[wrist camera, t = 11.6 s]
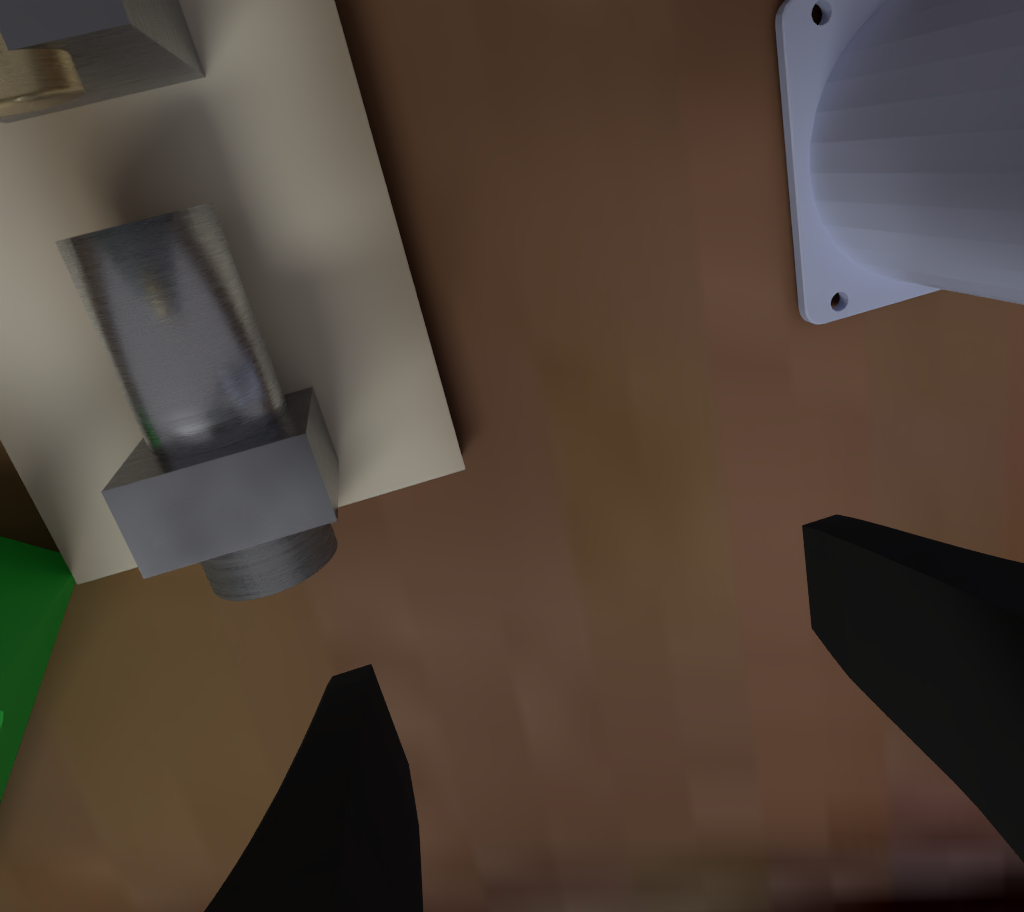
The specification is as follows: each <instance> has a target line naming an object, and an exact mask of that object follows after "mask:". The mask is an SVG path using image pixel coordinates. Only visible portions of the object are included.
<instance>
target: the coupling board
mask: <svg viewBox="0 0 1024 912" xmlns="http://www.w3.org/2000/svg"><path fill="white" fill-rule="evenodd" d="M179 2H180V5H181V8H182V10H183V13H184V16H185V19H186V22H187V25H188V28H189V31H190V33H191V36H192V39H193V42H194V45H195V48H196V51H197V53H198V56H199V59H200V62H201V65H202V68H203V71H204V73H205V76H206V77H204V78H200V79H195V80H191V81H187V82H183V83H178V84H174V85H170V86H166V87H161V88H157V89H153V90H148V91H144V92H140V93H136V94H131V95H127V96H123V97H118V98H114V99H110V100H106V101H101V102H97V103H93V104H89V105H84V106H80V107H76V108H71V109H67V110H63V111H59V112H54V113H50V114H46V115H42V116H37V117H33V118H29V119H24V120H20V121H16V122H12V123H2V122H0V440H1V442H2V444H3V446H4V448H5V450H6V451H7V453H8V455H9V457H10V459H11V461H12V463H13V465H14V466H15V468H16V470H17V472H18V474H19V476H20V478H21V480H22V481H23V483H24V485H25V487H26V489H27V491H28V493H29V495H30V496H31V498H32V500H33V502H34V504H35V506H36V508H37V510H38V511H39V513H40V515H41V517H42V519H43V521H44V523H45V525H46V526H47V528H48V530H49V532H50V534H51V536H52V538H53V540H54V541H55V543H56V545H57V547H58V549H59V551H60V553H61V555H62V556H63V558H64V560H65V562H66V564H67V566H68V568H69V570H70V571H71V573H72V575H73V577H74V579H75V581H76V583H77V585H78V584H82V583H85V582H89V581H92V580H95V579H99V578H102V577H105V576H109V575H112V574H115V573H119V572H122V571H126V570H129V569H132V568H136V567H138V566H137V564H136V562H135V560H134V558H133V556H132V554H131V552H130V550H129V548H128V545H127V543H126V541H125V539H124V537H123V535H122V533H121V531H120V529H119V527H118V525H117V523H116V521H115V519H114V517H113V515H112V513H111V511H110V509H109V507H108V505H107V503H106V501H105V499H104V497H103V495H102V493H101V491H102V490H103V489H104V488H105V486H106V485H107V484H108V482H109V481H110V480H111V478H112V477H113V476H114V475H115V473H116V472H117V471H118V469H119V468H120V467H121V466H122V464H123V463H124V462H125V460H126V459H127V458H128V456H129V455H130V454H131V453H132V451H133V450H134V449H135V447H136V446H137V445H138V444H139V442H140V441H141V440H142V438H143V435H142V433H141V431H140V428H139V426H138V424H137V422H136V420H135V417H134V415H133V413H132V411H131V409H130V406H129V404H128V402H127V400H126V398H125V395H124V393H123V391H122V389H121V386H120V384H119V382H118V380H117V378H116V375H115V373H114V371H113V369H112V367H111V364H110V362H109V360H108V358H107V356H106V353H105V351H104V349H103V347H102V345H101V342H100V340H99V338H98V336H97V334H96V331H95V329H94V327H93V325H92V322H91V320H90V318H89V316H88V314H87V311H86V309H85V307H84V305H83V303H82V300H81V298H80V296H79V294H78V292H77V289H76V287H75V285H74V283H73V281H72V278H71V276H70V274H69V272H68V269H67V267H66V265H65V263H64V261H63V258H62V256H61V254H60V252H59V250H58V247H57V245H56V243H55V242H56V241H60V240H63V239H67V238H71V237H75V236H79V235H83V234H87V233H91V232H95V231H99V230H103V229H107V228H111V227H115V226H119V225H123V224H127V223H131V222H135V221H139V220H143V219H147V218H151V217H155V216H159V215H163V214H167V213H171V212H175V211H179V210H183V209H187V208H192V207H196V206H200V205H204V204H209V203H213V204H214V207H215V209H216V212H217V215H218V218H219V220H220V223H221V226H222V228H223V231H224V234H225V237H226V239H227V242H228V245H229V248H230V250H231V253H232V256H233V258H234V261H235V264H236V267H237V269H238V272H239V275H240V278H241V280H242V283H243V286H244V288H245V291H246V294H247V297H248V299H249V302H250V305H251V308H252V310H253V313H254V316H255V318H256V321H257V324H258V327H259V329H260V332H261V335H262V338H263V340H264V343H265V346H266V348H267V351H268V354H269V357H270V359H271V362H272V365H273V368H274V370H275V373H276V376H277V378H278V381H279V384H280V387H281V389H282V392H283V395H285V394H289V393H292V392H296V391H299V390H303V389H307V388H310V387H313V388H314V391H315V394H316V397H317V400H318V403H319V405H320V408H321V411H322V414H323V417H324V420H325V423H326V426H327V428H328V431H329V434H330V437H331V440H332V443H333V446H334V448H335V451H336V454H337V457H338V460H339V477H338V507H340V506H344V505H347V504H351V503H354V502H357V501H361V500H364V499H367V498H371V497H374V496H377V495H381V494H384V493H388V492H391V491H394V490H398V489H401V488H404V487H408V486H411V485H414V484H418V483H421V482H424V481H428V480H431V479H435V478H438V477H441V476H445V475H448V474H451V473H455V472H458V471H461V470H465V466H464V463H463V459H462V455H461V452H460V448H459V445H458V441H457V437H456V434H455V430H454V427H453V423H452V420H451V416H450V412H449V409H448V405H447V402H446V398H445V395H444V391H443V387H442V384H441V380H440V377H439V373H438V369H437V366H436V362H435V359H434V355H433V352H432V348H431V344H430V341H429V337H428V334H427V330H426V327H425V323H424V319H423V316H422V312H421V309H420V305H419V301H418V298H417V294H416V291H415V287H414V284H413V280H412V276H411V273H410V269H409V266H408V262H407V259H406V255H405V251H404V248H403V244H402V241H401V237H400V233H399V230H398V226H397V223H396V219H395V216H394V212H393V208H392V205H391V201H390V198H389V194H388V190H387V187H386V183H385V180H384V176H383V173H382V169H381V165H380V162H379V158H378V155H377V151H376V148H375V144H374V140H373V137H372V133H371V130H370V126H369V122H368V119H367V115H366V112H365V108H364V105H363V101H362V97H361V94H360V90H359V87H358V83H357V80H356V76H355V72H354V69H353V65H352V62H351V58H350V54H349V51H348V47H347V44H346V40H345V37H344V33H343V29H342V26H341V22H340V19H339V15H338V12H337V8H336V4H335V1H334V0H179Z"/></svg>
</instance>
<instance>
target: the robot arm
mask: <svg viewBox="0 0 1024 912" xmlns="http://www.w3.org/2000/svg"><path fill="white" fill-rule="evenodd" d="M815 4H817V5H818V6H819V7H820V8H821V11H822V19H821V22H820V23H819V25H817V24H815V23H814V22H813V19H812V16H811V14H812V8H813V7H814V5H815ZM775 29H776V41H777V53H778V65H779V77H780V89H781V101H782V113H783V125H784V137H785V149H786V161H787V173H788V185H789V197H790V209H791V221H792V233H793V245H794V257H795V269H796V281H797V293H798V305H799V311H800V315H801V317H802V318H803V319H804V320H805V321H808V322H810V323H813V324H825V323H828V322H831V321H835V320H838V319H842V318H845V317H849V316H852V315H855V314H859V313H862V312H866V311H869V310H873V309H876V308H879V307H883V306H886V305H890V304H893V303H897V302H900V301H903V300H907V299H910V298H914V297H917V296H921V295H924V294H927V293H931V292H934V291H938V290H941V289H944V290H949V291H955V292H960V293H965V294H970V295H976V296H981V297H986V298H991V299H997V300H1002V301H1007V302H1012V303H1018V304H1023V305H1024V0H785V1H784V2H783V4H782V5H781V6H780V7H779V9H778V12H777V14H776V20H775ZM836 293H839V296H840V299H839V303H838V304H837V306H836V307H834V308H832V307H831V299H832V298H833V296H834V295H835V294H836ZM802 528H803V539H804V550H805V561H806V572H807V583H808V594H809V604H810V615H811V626H812V629H813V631H814V632H815V633H816V635H817V636H818V637H819V639H820V640H821V641H822V643H823V644H824V645H825V647H826V648H827V650H828V651H829V652H830V654H831V655H832V656H833V657H834V659H835V660H836V661H837V663H838V664H839V665H840V666H841V668H842V669H843V670H844V671H845V673H846V674H847V675H848V676H849V678H850V679H851V680H852V681H853V682H854V683H855V684H856V685H857V686H858V687H859V688H860V689H861V690H862V691H863V692H864V693H865V694H866V695H867V696H868V697H869V698H870V699H871V700H872V701H873V702H874V703H875V704H876V705H877V706H878V707H879V708H880V709H881V710H882V711H883V712H884V713H885V714H886V715H887V716H888V717H889V718H890V719H891V720H892V721H893V722H894V723H895V724H896V725H897V726H898V727H899V728H900V729H901V730H902V731H903V732H904V733H905V734H906V735H907V736H908V737H909V738H910V739H911V740H912V741H913V742H914V743H915V744H916V745H917V746H918V747H919V748H920V749H921V750H922V751H923V752H924V753H925V754H926V755H927V756H928V757H929V758H930V759H931V760H932V761H933V762H934V763H935V764H936V765H937V766H938V767H939V768H940V769H941V770H942V771H943V772H944V773H945V774H946V775H947V776H948V777H949V778H950V779H951V780H952V781H953V782H954V783H955V784H956V785H957V786H958V787H959V788H960V789H961V790H962V791H963V792H964V793H965V794H966V795H967V797H968V798H969V799H970V800H971V801H972V802H973V803H974V804H975V805H976V806H977V807H978V808H979V810H980V811H981V812H982V813H983V814H984V815H985V817H986V818H987V819H988V820H989V821H990V823H991V824H992V825H993V826H994V827H995V829H996V830H997V831H998V832H999V834H1000V835H1001V836H1002V837H1003V838H1004V840H1005V841H1006V842H1007V843H1008V844H1009V846H1010V847H1011V848H1012V849H1013V850H1014V852H1015V853H1016V854H1017V855H1018V856H1019V858H1020V859H1021V860H1022V861H1023V862H1024V563H1020V562H1016V561H1012V560H1007V559H1003V558H999V557H995V556H991V555H987V554H983V553H980V552H976V551H972V550H968V549H964V548H961V547H957V546H953V545H950V544H946V543H943V542H939V541H935V540H932V539H928V538H925V537H921V536H918V535H914V534H911V533H907V532H904V531H900V530H897V529H893V528H890V527H886V526H882V525H879V524H875V523H871V522H868V521H864V520H860V519H856V518H851V517H847V516H842V515H833V516H830V517H827V518H824V519H821V520H818V521H815V522H812V523H808V524H805V525H802ZM204 912H423V896H422V875H421V855H420V837H419V824H418V817H417V811H416V805H415V798H414V793H413V787H412V781H411V775H410V769H409V764H408V761H407V758H406V756H405V753H404V750H403V748H402V745H401V742H400V740H399V737H398V734H397V732H396V729H395V726H394V724H393V721H392V718H391V716H390V713H389V710H388V708H387V705H386V702H385V700H384V697H383V694H382V692H381V689H380V686H379V684H378V681H377V678H376V676H375V673H374V670H373V667H372V665H371V664H370V665H367V666H364V667H360V668H357V669H354V670H351V671H348V672H345V673H342V674H339V675H336V676H332V678H331V680H330V681H329V683H328V685H327V687H326V689H325V692H324V694H323V696H322V699H321V701H320V703H319V706H318V708H317V710H316V713H315V715H314V717H313V719H312V722H311V724H310V726H309V728H308V731H307V733H306V735H305V737H304V739H303V742H302V744H301V746H300V748H299V750H298V752H297V754H296V756H295V758H294V760H293V762H292V764H291V766H290V768H289V770H288V772H287V774H286V776H285V778H284V781H283V783H282V784H281V786H280V788H279V790H278V792H277V794H276V796H275V798H274V799H273V801H272V803H271V805H270V807H269V808H268V810H267V812H266V814H265V816H264V817H263V819H262V821H261V823H260V825H259V826H258V828H257V830H256V832H255V834H254V835H253V837H252V839H251V841H250V842H249V844H248V846H247V847H246V849H245V850H244V852H243V854H242V855H241V857H240V859H239V860H238V862H237V863H236V865H235V867H234V868H233V870H232V871H231V873H230V874H229V876H228V878H227V879H226V881H225V882H224V883H223V885H222V886H221V888H220V889H219V891H218V892H217V894H216V895H215V897H214V898H213V900H212V901H211V903H210V904H209V905H208V907H207V908H206V910H205V911H204Z"/></svg>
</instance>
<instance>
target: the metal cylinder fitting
mask: <svg viewBox="0 0 1024 912" xmlns="http://www.w3.org/2000/svg"><path fill="white" fill-rule="evenodd" d="M55 243H56V245H57V247H58V250H59V252H60V254H61V256H62V258H63V261H64V263H65V265H66V267H67V269H68V272H69V274H70V276H71V278H72V281H73V283H74V285H75V287H76V289H77V292H78V294H79V296H80V298H81V300H82V303H83V305H84V307H85V309H86V311H87V314H88V316H89V318H90V320H91V322H92V325H93V327H94V329H95V331H96V334H97V336H98V338H99V340H100V342H101V345H102V347H103V349H104V351H105V353H106V356H107V358H108V360H109V362H110V364H111V367H112V369H113V371H114V373H115V375H116V378H117V380H118V382H119V384H120V386H121V389H122V391H123V393H124V395H125V398H126V400H127V402H128V404H129V406H130V409H131V411H132V413H133V415H134V417H135V420H136V422H137V424H138V426H139V428H140V431H141V433H142V435H143V438H142V440H141V441H140V442H139V444H138V445H137V446H136V447H135V449H134V450H133V451H132V453H131V454H130V455H129V456H128V458H127V459H126V460H125V462H124V463H123V464H122V466H121V467H120V468H119V469H118V471H117V472H116V473H115V475H114V476H113V477H112V478H111V480H110V481H109V482H108V484H107V485H106V486H105V488H104V489H103V490H102V491H101V493H102V495H103V497H104V499H105V501H106V503H107V505H108V507H109V509H110V511H111V513H112V515H113V517H114V519H115V521H116V523H117V525H118V527H119V529H120V531H121V533H122V535H123V537H124V539H125V541H126V543H127V545H128V548H129V550H130V552H131V554H132V556H133V558H134V560H135V562H136V564H137V566H138V568H139V570H140V572H141V574H142V576H143V578H144V579H145V578H149V577H152V576H155V575H159V574H162V573H165V572H169V571H172V570H175V569H179V568H182V567H185V566H189V565H192V564H195V563H199V562H200V563H201V565H202V567H203V570H204V572H205V574H206V576H207V579H208V581H209V583H210V585H211V587H212V590H213V592H214V593H215V595H216V596H218V597H220V598H222V599H225V600H230V601H244V600H252V599H257V598H262V597H265V596H269V595H272V594H275V593H278V592H281V591H283V590H286V589H288V588H290V587H292V586H294V585H297V584H298V583H300V582H302V581H304V580H306V579H307V578H309V577H310V576H312V575H313V574H315V573H316V572H318V571H319V570H320V569H321V568H322V567H324V566H325V565H326V564H327V563H328V562H329V561H330V559H331V558H332V557H333V555H334V554H335V552H336V549H337V545H338V544H337V539H336V537H335V534H334V531H333V528H332V526H331V523H332V522H335V521H338V477H339V460H338V457H337V454H336V451H335V448H334V446H333V443H332V440H331V437H330V434H329V431H328V428H327V426H326V423H325V420H324V417H323V414H322V411H321V408H320V405H319V403H318V400H317V397H316V394H315V391H314V388H313V387H310V388H307V389H303V390H299V391H296V392H292V393H289V394H285V395H283V392H282V389H281V387H280V384H279V381H278V378H277V376H276V373H275V370H274V368H273V365H272V362H271V359H270V357H269V354H268V351H267V348H266V346H265V343H264V340H263V338H262V335H261V332H260V329H259V327H258V324H257V321H256V318H255V316H254V313H253V310H252V308H251V305H250V302H249V299H248V297H247V294H246V291H245V288H244V286H243V283H242V280H241V278H240V275H239V272H238V269H237V267H236V264H235V261H234V258H233V256H232V253H231V250H230V248H229V245H228V242H227V239H226V237H225V234H224V231H223V228H222V226H221V223H220V220H219V218H218V215H217V212H216V209H215V207H214V204H213V203H209V204H204V205H200V206H196V207H192V208H187V209H183V210H179V211H175V212H171V213H167V214H163V215H159V216H155V217H151V218H147V219H143V220H139V221H135V222H131V223H127V224H123V225H119V226H115V227H111V228H107V229H103V230H99V231H95V232H91V233H87V234H83V235H79V236H75V237H71V238H67V239H63V240H60V241H56V242H55Z"/></svg>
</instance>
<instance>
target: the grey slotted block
mask: <svg viewBox="0 0 1024 912" xmlns="http://www.w3.org/2000/svg"><path fill="white" fill-rule="evenodd" d="M204 77H206V76H205V73H204V71H203V68H202V65H201V62H200V59H199V56H198V53H197V51H196V48H195V45H194V42H193V39H192V36H191V33H190V31H189V28H188V25H187V22H186V19H185V16H184V13H183V10H182V8H181V5H180V2H179V0H0V122H2V123H12V122H16V121H20V120H24V119H29V118H33V117H37V116H42V115H46V114H50V113H54V112H59V111H63V110H67V109H71V108H76V107H80V106H84V105H89V104H93V103H97V102H101V101H106V100H110V99H114V98H118V97H123V96H127V95H131V94H136V93H140V92H144V91H148V90H153V89H157V88H161V87H166V86H170V85H174V84H178V83H183V82H187V81H191V80H195V79H200V78H204Z"/></svg>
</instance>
